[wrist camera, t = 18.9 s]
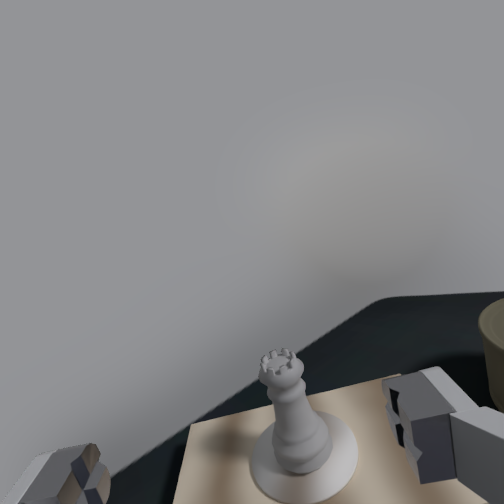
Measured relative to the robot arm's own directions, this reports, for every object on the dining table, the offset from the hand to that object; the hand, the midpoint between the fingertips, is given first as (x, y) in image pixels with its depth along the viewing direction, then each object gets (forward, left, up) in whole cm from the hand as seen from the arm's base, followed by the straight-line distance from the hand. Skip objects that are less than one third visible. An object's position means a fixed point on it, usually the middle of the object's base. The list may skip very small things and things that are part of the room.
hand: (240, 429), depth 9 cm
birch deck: (0, +13, -17) cm, 22 cm away
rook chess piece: (+1, +13, -14) cm, 19 cm away
